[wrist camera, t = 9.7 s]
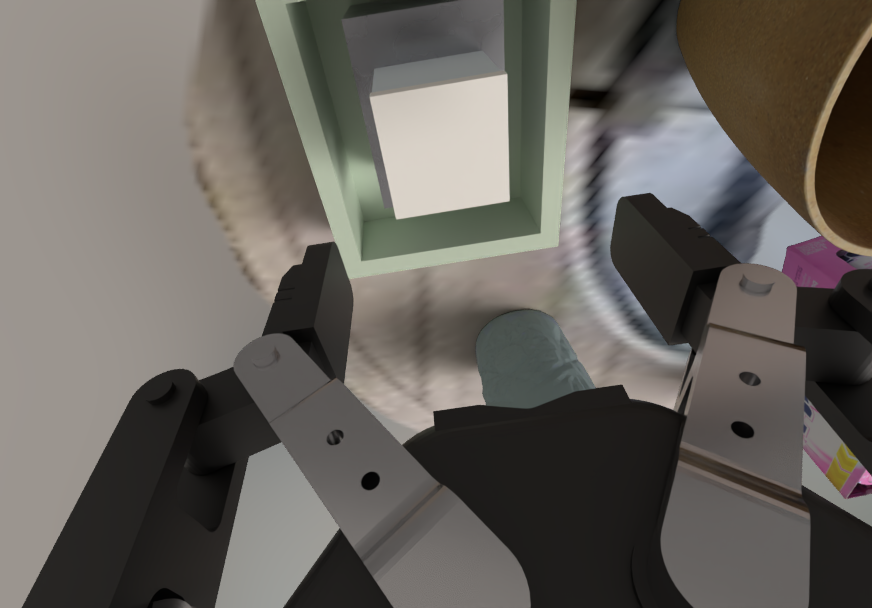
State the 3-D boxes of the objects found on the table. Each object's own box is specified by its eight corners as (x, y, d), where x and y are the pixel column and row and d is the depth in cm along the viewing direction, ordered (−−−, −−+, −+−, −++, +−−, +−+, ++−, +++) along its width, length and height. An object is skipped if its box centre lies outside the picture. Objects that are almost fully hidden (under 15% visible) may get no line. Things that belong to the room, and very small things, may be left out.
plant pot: (565, 80, 27) (715, 190, 14) (760, -272, 18) (1512, -719, 6) (728, 163, 31) (944, 299, 19) (942, -86, 23) (1570, -125, 11)
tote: (541, -77, 22) (582, -84, 17) (533, 204, 32) (558, 246, 28) (275, -32, 22) (246, -27, 17) (353, 232, 32) (347, 279, 28)
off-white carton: (483, 48, 19) (507, 73, 15) (488, 158, 22) (509, 201, 19) (372, 67, 19) (369, 96, 15) (394, 173, 23) (396, 219, 19)
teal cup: (481, 299, 38) (512, 410, 29) (585, 305, 39) (645, 412, 30) (460, 373, 44) (480, 484, 35) (551, 376, 46) (592, 482, 37)
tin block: (479, -16, 22) (503, -7, 18) (487, 150, 28) (506, 189, 24) (350, 5, 23) (341, 19, 18) (384, 166, 28) (384, 208, 24)
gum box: (785, 233, 36) (944, 346, 26) (887, 200, 35) (1097, 305, 25) (751, 390, 51) (843, 501, 41) (821, 371, 50) (934, 481, 40)
